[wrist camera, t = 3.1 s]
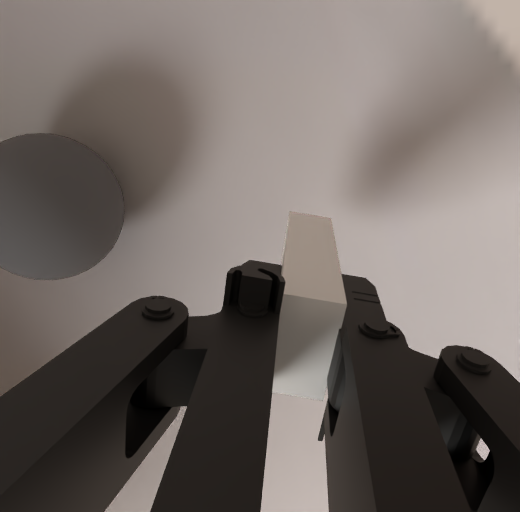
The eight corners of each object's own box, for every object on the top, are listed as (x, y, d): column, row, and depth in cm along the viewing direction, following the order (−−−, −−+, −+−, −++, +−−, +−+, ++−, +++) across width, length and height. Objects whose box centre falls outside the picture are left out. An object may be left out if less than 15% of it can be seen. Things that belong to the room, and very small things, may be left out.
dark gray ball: (24, 239, 21) (-67, 292, 16) (16, 116, 19) (-91, 131, 13) (140, 258, 20) (88, 317, 15) (145, 137, 18) (87, 159, 13)
